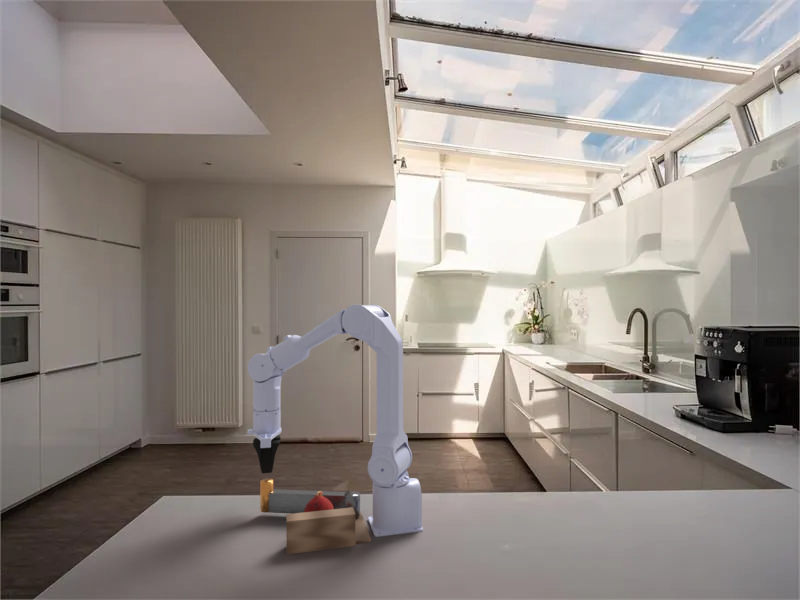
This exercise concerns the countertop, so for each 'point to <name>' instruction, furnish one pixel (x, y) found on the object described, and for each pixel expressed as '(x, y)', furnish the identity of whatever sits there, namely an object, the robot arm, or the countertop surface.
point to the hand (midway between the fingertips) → (266, 472)
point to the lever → (302, 499)
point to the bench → (325, 530)
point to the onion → (318, 503)
